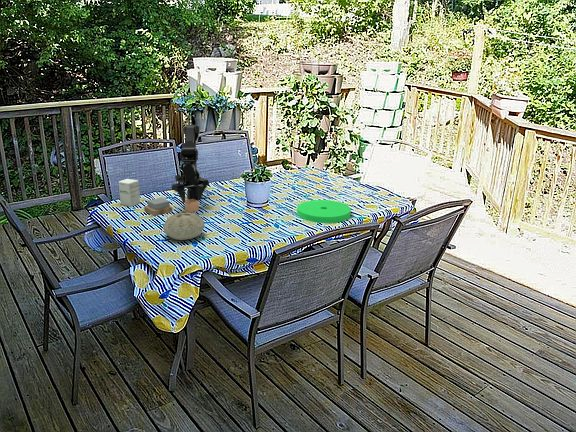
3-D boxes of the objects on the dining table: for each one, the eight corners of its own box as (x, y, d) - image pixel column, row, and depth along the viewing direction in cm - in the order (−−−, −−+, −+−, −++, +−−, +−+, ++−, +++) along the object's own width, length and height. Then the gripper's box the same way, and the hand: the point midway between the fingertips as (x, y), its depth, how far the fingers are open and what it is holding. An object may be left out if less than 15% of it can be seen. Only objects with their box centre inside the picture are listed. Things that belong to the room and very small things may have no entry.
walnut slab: (162, 208, 260) (161, 202, 259) (172, 212, 254) (171, 207, 253) (144, 212, 254) (144, 206, 253) (154, 217, 247) (153, 211, 246)
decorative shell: (155, 237, 221) (153, 216, 218) (184, 226, 235) (183, 205, 232) (185, 247, 212) (183, 224, 208) (213, 234, 226) (212, 213, 222)
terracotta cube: (193, 207, 260) (193, 198, 258) (198, 210, 257) (198, 200, 255) (185, 209, 257) (184, 200, 255) (190, 212, 253) (190, 202, 252)
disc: (354, 208, 263) (354, 202, 262) (345, 226, 239) (346, 219, 238) (304, 203, 270) (304, 197, 269) (290, 220, 246) (291, 213, 244)
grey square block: (162, 203, 258) (161, 197, 257) (169, 206, 253) (169, 201, 252) (147, 206, 254) (147, 200, 252) (155, 210, 248) (154, 204, 247)
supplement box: (120, 204, 263) (117, 181, 258) (130, 200, 269) (128, 178, 264) (130, 207, 259) (128, 183, 255) (140, 203, 266) (138, 180, 261)
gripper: (196, 165, 261) (198, 194, 267) (165, 171, 249) (167, 201, 255) (209, 169, 254) (210, 198, 259) (177, 175, 242) (178, 206, 247)
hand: (191, 201), depth 255 cm, fingers open, 9 cm apart
